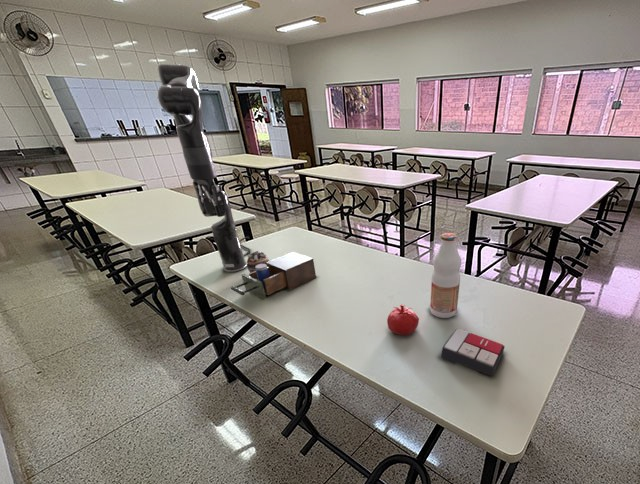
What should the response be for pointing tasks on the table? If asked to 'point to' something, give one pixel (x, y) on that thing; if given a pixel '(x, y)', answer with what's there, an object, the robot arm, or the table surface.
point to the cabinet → (294, 268)
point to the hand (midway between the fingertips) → (215, 214)
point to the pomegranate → (402, 321)
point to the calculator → (473, 351)
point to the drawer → (256, 286)
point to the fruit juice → (445, 278)
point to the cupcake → (256, 260)
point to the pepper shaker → (262, 273)
